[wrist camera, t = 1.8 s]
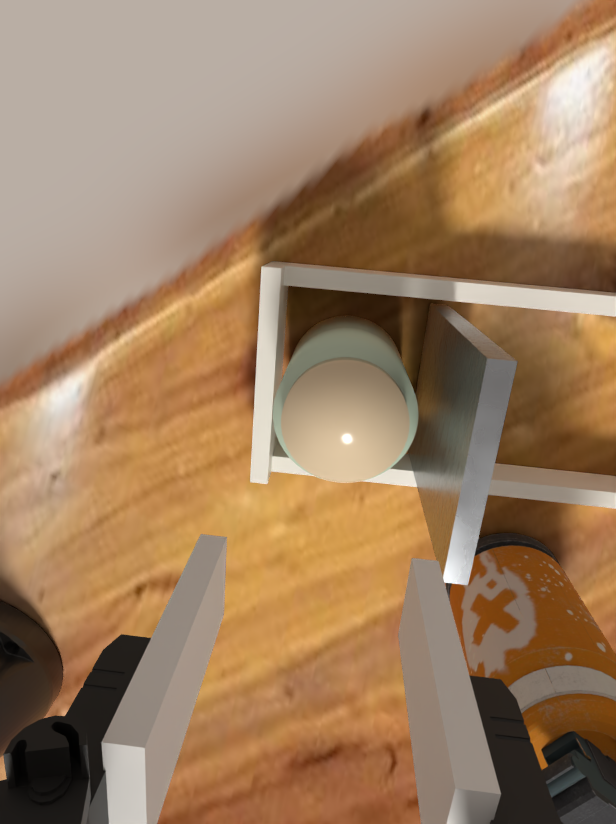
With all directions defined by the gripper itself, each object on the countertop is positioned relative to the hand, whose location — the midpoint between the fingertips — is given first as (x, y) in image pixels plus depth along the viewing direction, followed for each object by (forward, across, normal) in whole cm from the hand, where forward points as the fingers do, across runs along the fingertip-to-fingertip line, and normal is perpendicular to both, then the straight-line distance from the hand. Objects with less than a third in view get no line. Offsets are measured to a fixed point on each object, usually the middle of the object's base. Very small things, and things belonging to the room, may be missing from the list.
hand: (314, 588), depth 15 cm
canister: (+25, +16, -16) cm, 34 cm away
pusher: (+24, +8, 0) cm, 26 cm away
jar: (+25, +1, 0) cm, 25 cm away
